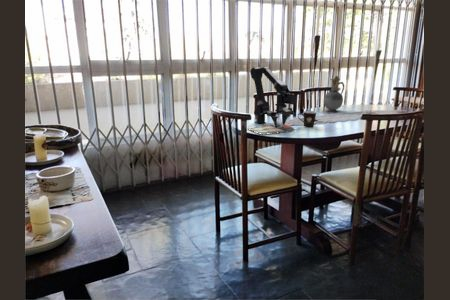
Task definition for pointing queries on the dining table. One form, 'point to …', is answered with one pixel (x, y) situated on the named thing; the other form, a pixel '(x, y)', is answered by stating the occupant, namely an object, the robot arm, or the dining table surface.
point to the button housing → (287, 129)
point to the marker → (279, 125)
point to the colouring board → (266, 129)
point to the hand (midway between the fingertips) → (279, 125)
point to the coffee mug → (308, 118)
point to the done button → (286, 126)
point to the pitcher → (334, 96)
